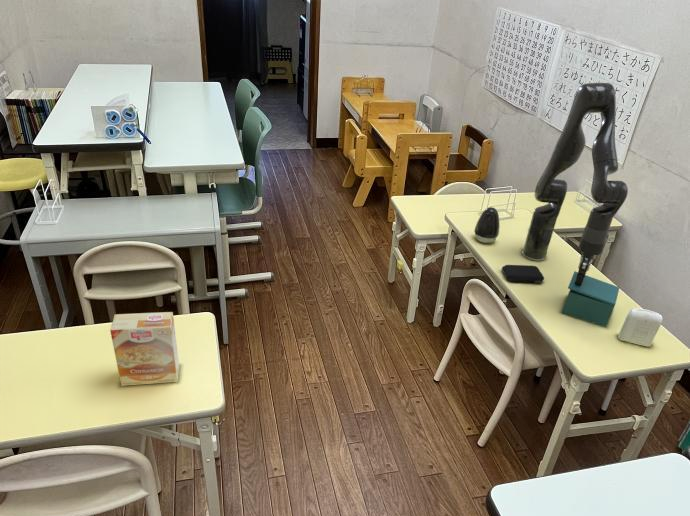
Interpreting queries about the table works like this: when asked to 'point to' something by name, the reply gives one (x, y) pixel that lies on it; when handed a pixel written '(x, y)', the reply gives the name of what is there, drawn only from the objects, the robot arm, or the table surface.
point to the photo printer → (640, 327)
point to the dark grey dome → (487, 226)
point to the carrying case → (522, 273)
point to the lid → (595, 289)
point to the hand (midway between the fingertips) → (579, 281)
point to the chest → (587, 308)
